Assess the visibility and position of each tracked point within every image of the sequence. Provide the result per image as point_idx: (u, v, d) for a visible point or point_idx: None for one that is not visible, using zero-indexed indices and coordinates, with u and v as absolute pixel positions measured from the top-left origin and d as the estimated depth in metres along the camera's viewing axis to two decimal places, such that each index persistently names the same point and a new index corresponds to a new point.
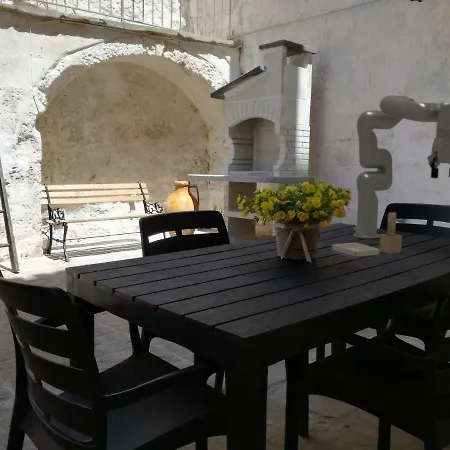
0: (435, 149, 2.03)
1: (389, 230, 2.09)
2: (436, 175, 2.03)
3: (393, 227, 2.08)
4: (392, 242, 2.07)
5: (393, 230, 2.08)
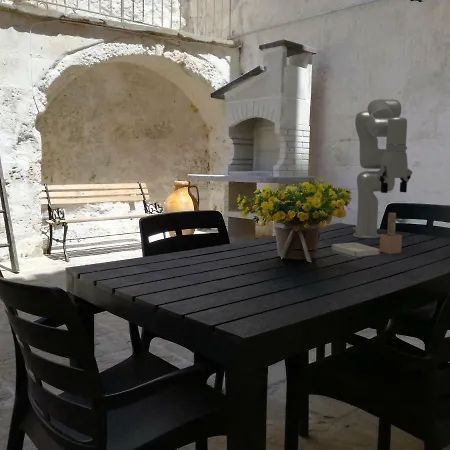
0: (384, 164, 2.04)
1: (389, 230, 2.09)
2: (385, 190, 2.04)
3: (393, 227, 2.08)
4: (392, 242, 2.07)
5: (393, 230, 2.08)
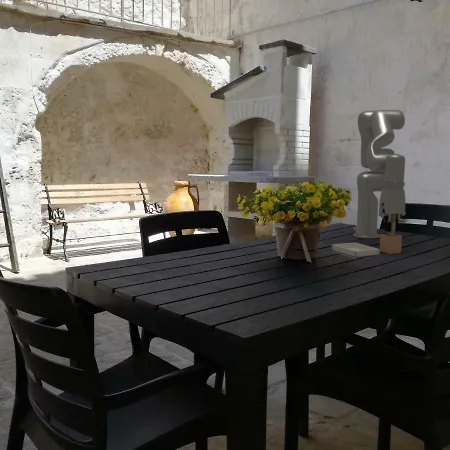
0: (382, 201, 2.06)
1: None
2: (389, 229, 2.08)
3: (393, 227, 2.08)
4: (392, 242, 2.07)
5: (393, 230, 2.08)
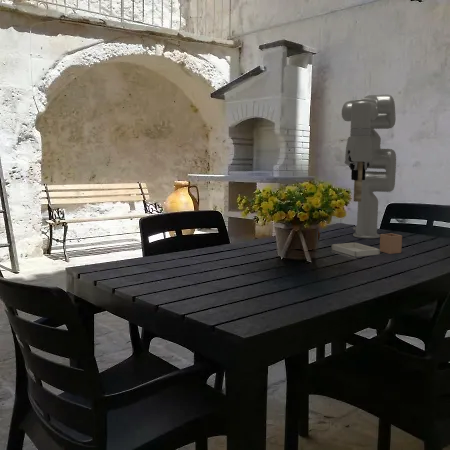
0: (348, 148, 2.03)
1: None
2: (356, 177, 2.05)
3: (360, 175, 2.05)
4: (392, 242, 2.07)
5: (360, 178, 2.05)
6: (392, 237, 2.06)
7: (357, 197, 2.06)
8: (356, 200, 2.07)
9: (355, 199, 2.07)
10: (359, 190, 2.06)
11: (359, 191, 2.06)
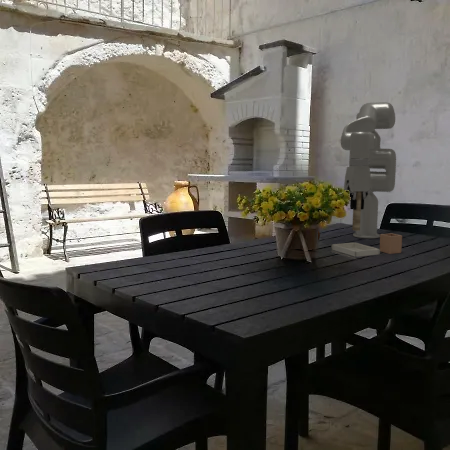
0: (347, 178, 2.05)
1: None
2: (354, 206, 2.06)
3: (358, 205, 2.07)
4: (392, 242, 2.07)
5: (358, 208, 2.07)
6: (392, 237, 2.06)
7: (356, 226, 2.08)
8: (355, 229, 2.08)
9: (354, 228, 2.08)
10: (358, 219, 2.07)
11: (358, 220, 2.08)
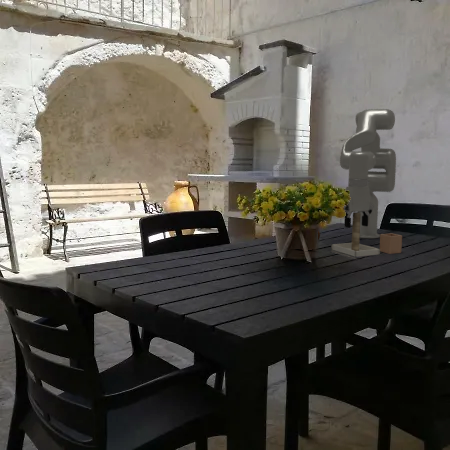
0: None
1: (353, 230, 2.09)
2: (349, 224, 2.07)
3: (357, 227, 2.08)
4: (392, 242, 2.07)
5: (357, 230, 2.08)
6: (392, 237, 2.06)
7: (355, 248, 2.09)
8: None
9: None
10: (357, 241, 2.09)
11: (357, 242, 2.09)
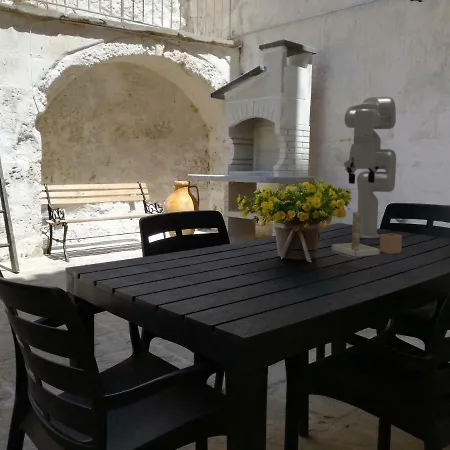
0: (352, 155, 2.06)
1: (354, 230, 2.09)
2: (353, 181, 2.07)
3: (357, 227, 2.08)
4: (392, 242, 2.07)
5: (357, 230, 2.08)
6: (392, 237, 2.06)
7: (355, 248, 2.09)
8: None
9: None
10: (357, 241, 2.09)
11: (357, 242, 2.09)
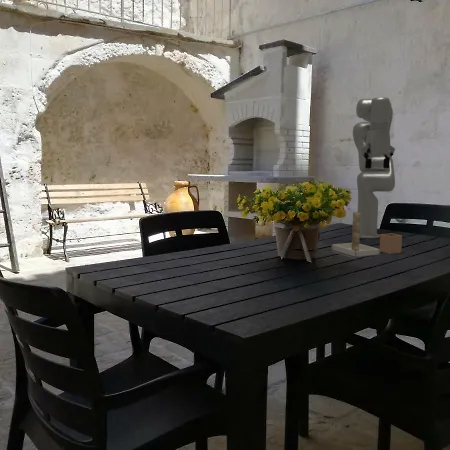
0: (368, 141, 2.18)
1: (354, 230, 2.09)
2: (369, 165, 2.18)
3: (357, 227, 2.08)
4: (392, 242, 2.07)
5: (357, 230, 2.08)
6: (392, 237, 2.06)
7: (355, 248, 2.09)
8: None
9: None
10: (357, 241, 2.09)
11: (357, 242, 2.09)
